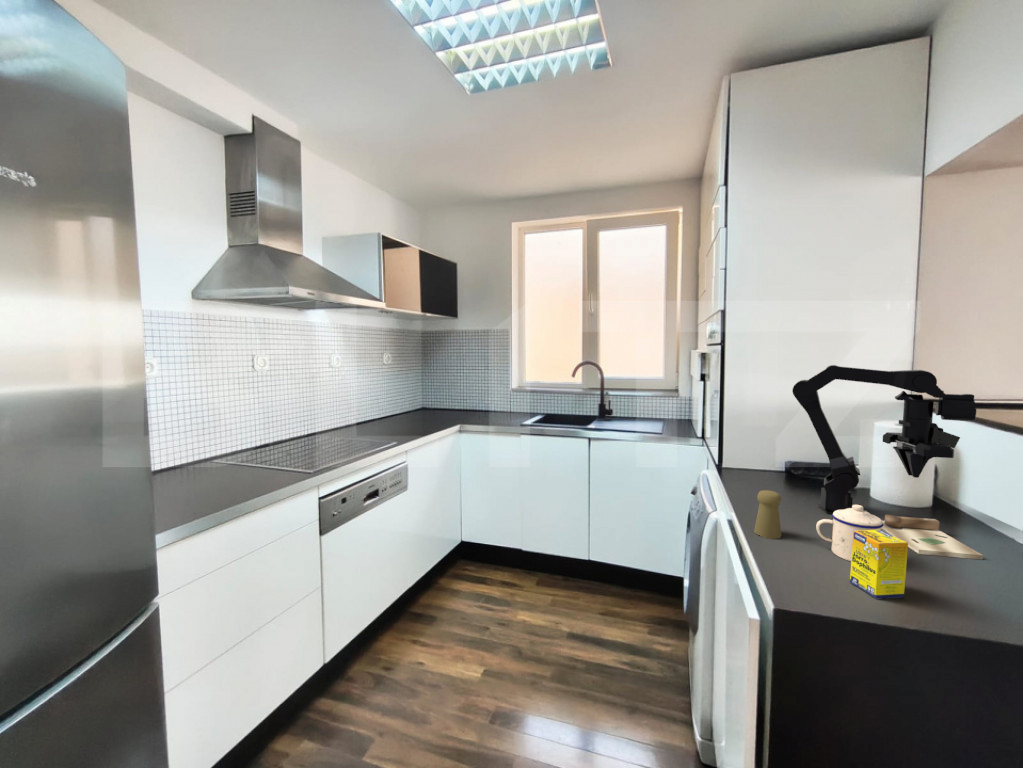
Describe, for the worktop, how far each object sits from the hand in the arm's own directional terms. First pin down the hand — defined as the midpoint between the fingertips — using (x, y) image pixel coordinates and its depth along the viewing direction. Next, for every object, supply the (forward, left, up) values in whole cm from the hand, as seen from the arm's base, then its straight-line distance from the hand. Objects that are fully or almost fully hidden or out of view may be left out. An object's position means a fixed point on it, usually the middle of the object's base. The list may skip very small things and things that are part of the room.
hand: (913, 476), depth 117 cm
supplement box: (-27, -40, -13) cm, 50 cm away
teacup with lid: (-25, -24, -13) cm, 37 cm away
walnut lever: (-3, -6, -12) cm, 13 cm away
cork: (-39, -16, -13) cm, 44 cm away
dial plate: (-3, -11, -13) cm, 17 cm away
